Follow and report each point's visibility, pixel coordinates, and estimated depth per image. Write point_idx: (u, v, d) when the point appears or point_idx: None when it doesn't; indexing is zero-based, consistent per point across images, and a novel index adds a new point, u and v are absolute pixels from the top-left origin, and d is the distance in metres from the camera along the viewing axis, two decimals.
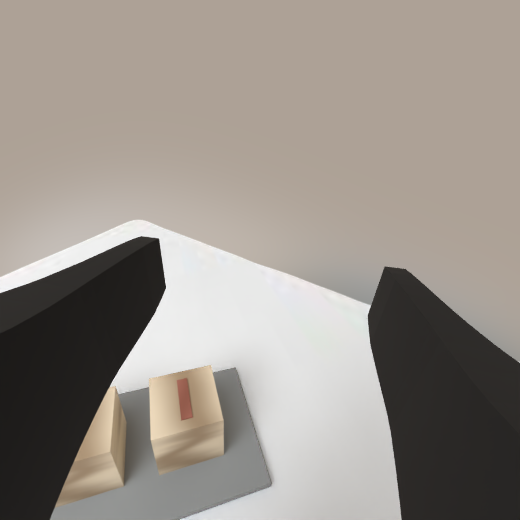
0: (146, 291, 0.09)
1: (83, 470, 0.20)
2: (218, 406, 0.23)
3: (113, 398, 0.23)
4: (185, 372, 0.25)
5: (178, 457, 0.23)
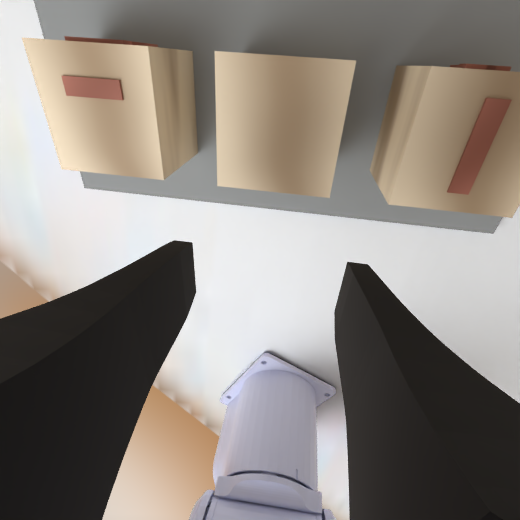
0: (181, 296, 0.09)
1: None
2: None
3: (347, 95, 0.11)
4: (518, 77, 0.10)
5: None
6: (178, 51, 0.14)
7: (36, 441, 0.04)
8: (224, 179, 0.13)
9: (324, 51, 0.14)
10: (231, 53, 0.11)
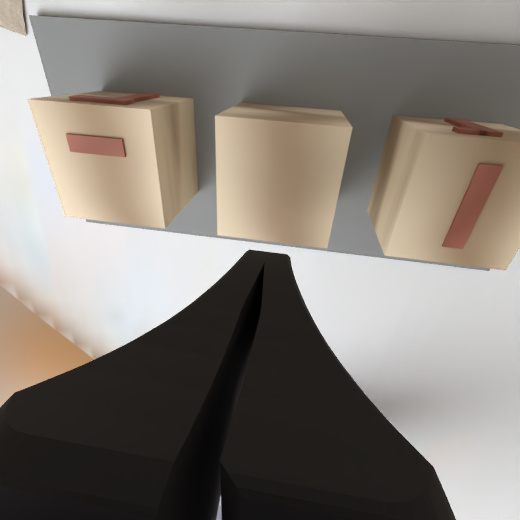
0: (259, 307, 0.09)
1: None
2: (516, 247, 0.12)
3: (344, 157, 0.11)
4: (509, 146, 0.10)
5: None
6: (179, 103, 0.14)
7: (201, 472, 0.04)
8: (224, 229, 0.14)
9: (322, 101, 0.15)
10: (231, 118, 0.11)
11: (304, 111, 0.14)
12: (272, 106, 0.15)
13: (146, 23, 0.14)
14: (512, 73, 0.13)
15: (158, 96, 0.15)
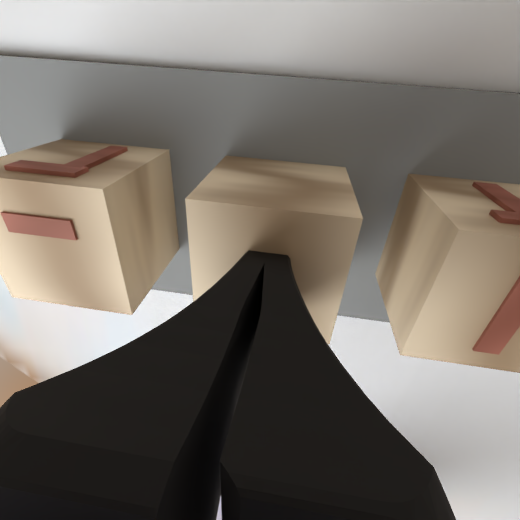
0: (259, 307, 0.09)
1: None
2: None
3: (351, 251, 0.09)
4: None
5: None
6: (149, 163, 0.11)
7: (201, 472, 0.04)
8: None
9: (323, 156, 0.12)
10: (206, 202, 0.09)
11: (301, 174, 0.11)
12: (263, 163, 0.12)
13: (109, 64, 0.12)
14: None
15: (125, 150, 0.12)
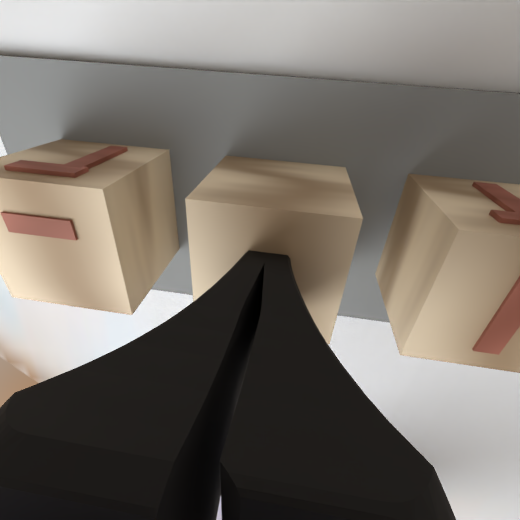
0: (259, 307, 0.09)
1: None
2: None
3: (351, 251, 0.09)
4: None
5: None
6: (149, 163, 0.11)
7: (201, 472, 0.04)
8: None
9: (323, 156, 0.12)
10: (206, 202, 0.09)
11: (301, 174, 0.11)
12: (263, 163, 0.12)
13: (109, 65, 0.12)
14: None
15: (126, 150, 0.12)
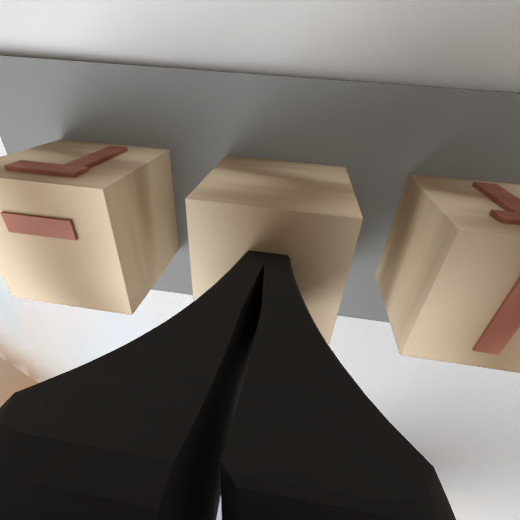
0: (259, 307, 0.09)
1: None
2: None
3: (351, 251, 0.09)
4: None
5: None
6: (149, 163, 0.11)
7: (201, 472, 0.04)
8: None
9: (323, 156, 0.12)
10: (206, 202, 0.09)
11: (301, 174, 0.11)
12: (263, 163, 0.12)
13: (109, 65, 0.12)
14: None
15: (126, 150, 0.12)
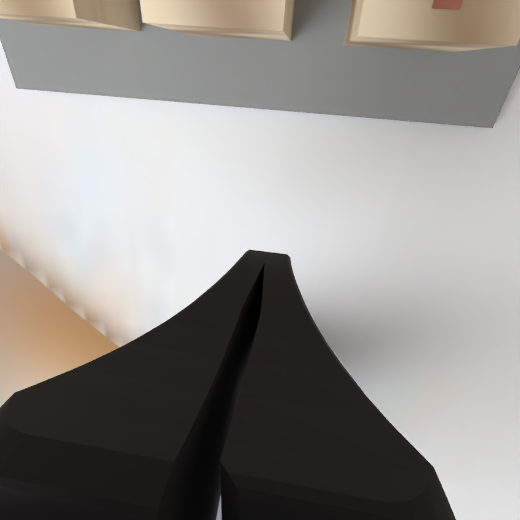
0: (259, 307, 0.09)
1: (237, 31, 0.12)
2: None
3: None
4: None
5: (384, 44, 0.13)
6: None
7: (201, 473, 0.04)
8: (150, 10, 0.10)
9: None
10: None
11: None
12: None
13: None
14: None
15: None
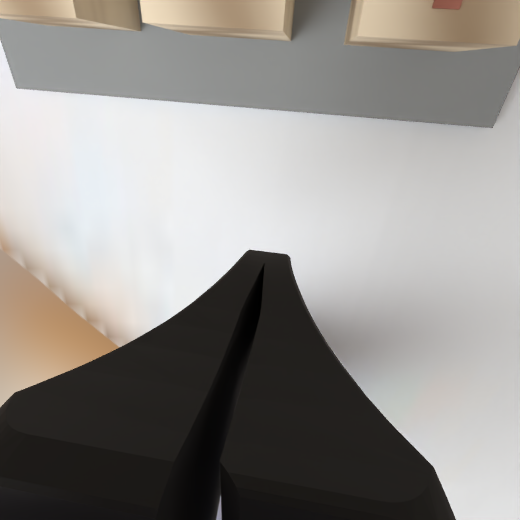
0: (259, 307, 0.09)
1: (237, 31, 0.12)
2: None
3: None
4: None
5: (384, 44, 0.13)
6: None
7: (201, 473, 0.04)
8: (150, 10, 0.10)
9: None
10: None
11: None
12: None
13: None
14: None
15: None
